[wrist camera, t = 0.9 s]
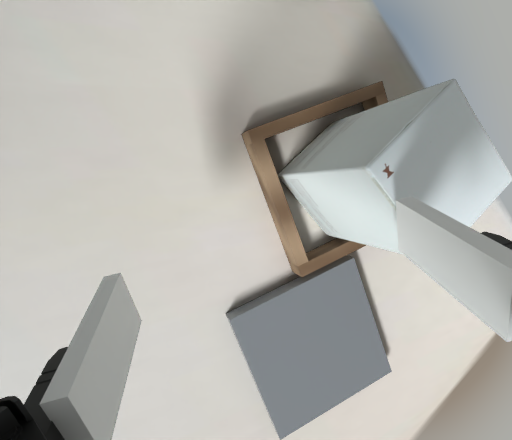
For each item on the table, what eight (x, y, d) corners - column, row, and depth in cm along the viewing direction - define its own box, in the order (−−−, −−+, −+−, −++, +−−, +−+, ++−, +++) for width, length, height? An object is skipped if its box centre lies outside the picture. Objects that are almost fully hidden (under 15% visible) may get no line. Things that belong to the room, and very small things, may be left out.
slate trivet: (225, 313, 29) (229, 320, 27) (344, 254, 31) (353, 257, 30) (274, 428, 31) (280, 439, 30) (381, 363, 34) (391, 371, 32)
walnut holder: (241, 134, 28) (247, 130, 26) (367, 87, 30) (382, 80, 29) (292, 271, 30) (301, 277, 28) (405, 216, 33) (420, 218, 31)
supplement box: (325, 237, 31) (437, 270, 19) (274, 174, 29) (362, 165, 17) (380, 183, 32) (518, 180, 20) (334, 118, 30) (457, 72, 18)
